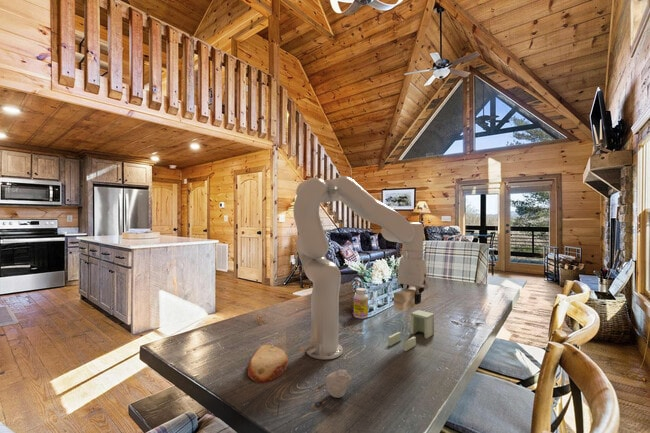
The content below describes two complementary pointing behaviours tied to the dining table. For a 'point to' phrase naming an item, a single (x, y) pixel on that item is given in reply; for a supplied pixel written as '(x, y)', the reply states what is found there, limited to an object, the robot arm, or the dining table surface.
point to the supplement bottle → (361, 303)
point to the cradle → (406, 344)
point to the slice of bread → (267, 364)
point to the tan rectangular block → (405, 299)
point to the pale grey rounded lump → (338, 383)
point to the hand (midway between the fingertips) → (412, 302)
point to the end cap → (422, 323)
